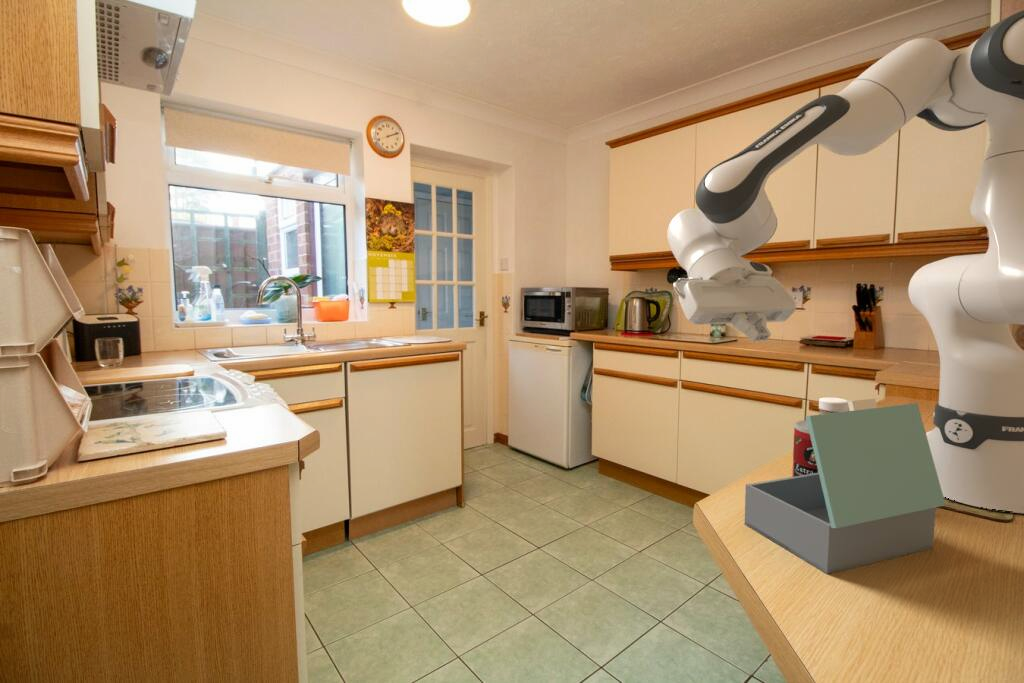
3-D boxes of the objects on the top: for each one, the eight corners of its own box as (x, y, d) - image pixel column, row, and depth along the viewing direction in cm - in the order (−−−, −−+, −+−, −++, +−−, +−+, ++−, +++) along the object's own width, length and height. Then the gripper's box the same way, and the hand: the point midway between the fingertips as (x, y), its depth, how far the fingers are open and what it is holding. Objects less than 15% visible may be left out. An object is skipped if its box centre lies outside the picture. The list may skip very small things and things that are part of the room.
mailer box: (838, 506, 74) (840, 469, 74) (932, 548, 62) (935, 503, 61) (744, 524, 69) (745, 484, 68) (827, 574, 57) (829, 526, 56)
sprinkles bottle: (849, 470, 89) (853, 399, 87) (838, 475, 86) (842, 403, 85) (822, 463, 93) (826, 395, 91) (811, 468, 90) (814, 398, 89)
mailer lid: (910, 394, 64) (914, 394, 63) (940, 504, 61) (945, 505, 60) (803, 406, 58) (807, 405, 58) (831, 527, 56) (835, 528, 55)
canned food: (786, 489, 81) (788, 426, 80) (799, 476, 86) (802, 417, 85) (839, 503, 75) (843, 435, 74) (850, 488, 81) (854, 425, 80)
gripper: (677, 265, 79) (717, 327, 71) (776, 265, 85) (823, 323, 76) (661, 292, 84) (696, 353, 75) (755, 291, 89) (797, 348, 81)
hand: (761, 338), depth 76 cm, fingers closed
